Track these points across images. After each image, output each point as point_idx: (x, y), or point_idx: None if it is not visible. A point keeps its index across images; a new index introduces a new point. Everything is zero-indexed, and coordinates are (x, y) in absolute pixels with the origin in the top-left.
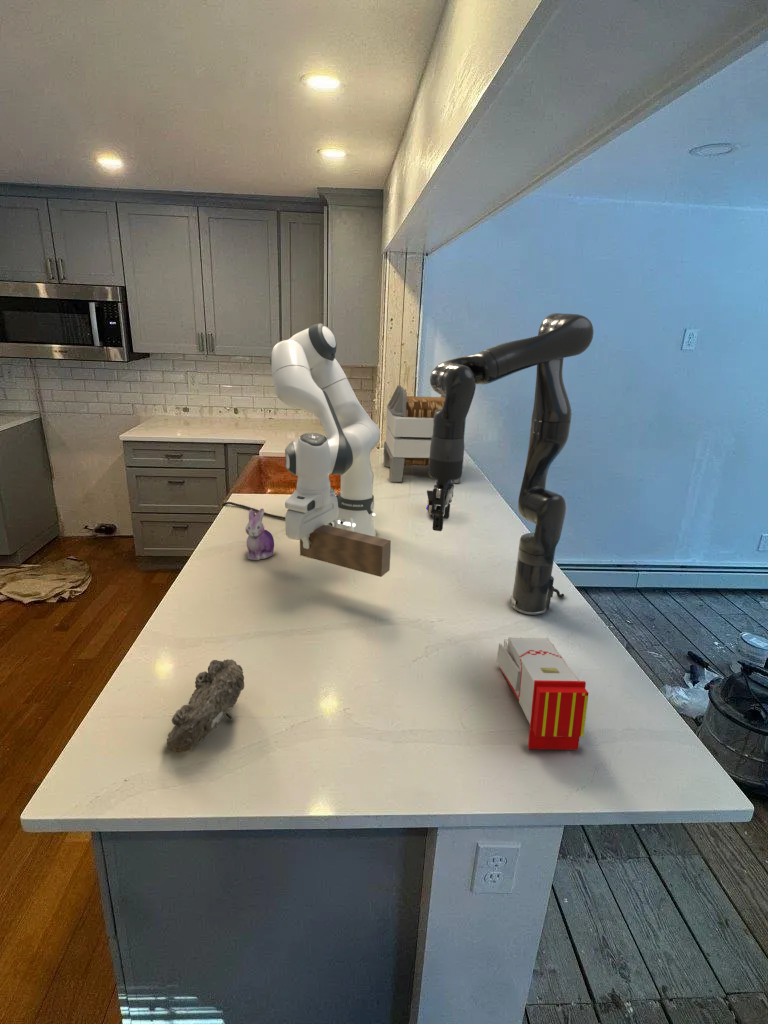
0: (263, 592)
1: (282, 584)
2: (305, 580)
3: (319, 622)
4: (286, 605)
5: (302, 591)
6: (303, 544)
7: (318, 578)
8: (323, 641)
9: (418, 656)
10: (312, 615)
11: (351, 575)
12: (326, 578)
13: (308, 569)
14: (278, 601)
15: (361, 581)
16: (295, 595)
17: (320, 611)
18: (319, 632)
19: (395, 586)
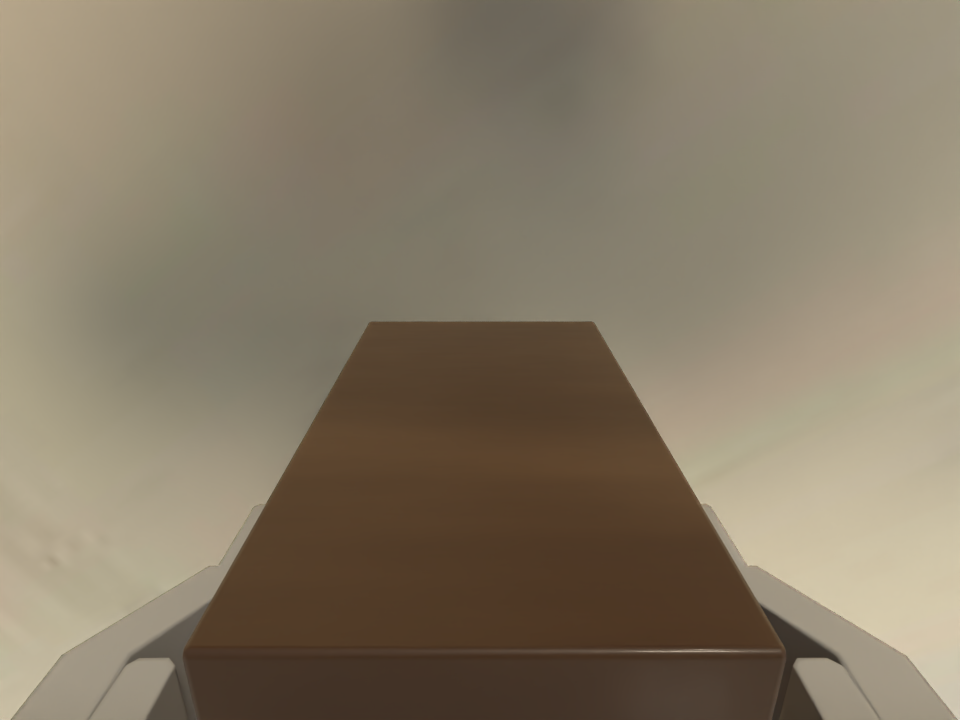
0: (186, 9)
1: (392, 61)
2: (553, 187)
3: (158, 558)
4: (165, 299)
5: (390, 274)
6: (238, 539)
7: (632, 255)
8: (42, 651)
9: None
10: (187, 494)
11: (781, 425)
12: (660, 305)
13: (749, 82)
14: (166, 216)
15: (722, 515)
16: (312, 267)
17: (253, 505)
18: (86, 603)
19: None
